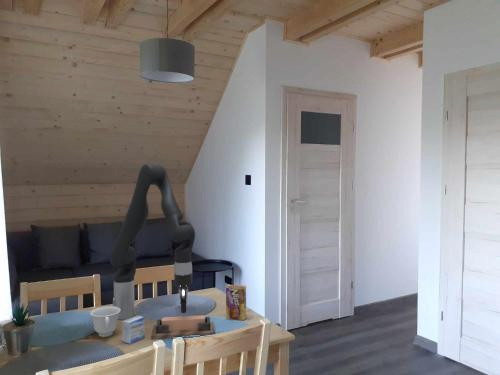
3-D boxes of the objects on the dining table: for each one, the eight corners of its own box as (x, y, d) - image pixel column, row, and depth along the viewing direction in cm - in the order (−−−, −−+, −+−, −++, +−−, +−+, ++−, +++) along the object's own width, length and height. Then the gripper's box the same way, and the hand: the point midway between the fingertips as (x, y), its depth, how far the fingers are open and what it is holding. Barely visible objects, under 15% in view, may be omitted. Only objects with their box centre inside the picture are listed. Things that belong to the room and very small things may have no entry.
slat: (161, 331, 172) (161, 320, 171) (162, 327, 176) (162, 317, 175) (205, 329, 174) (204, 318, 174) (204, 325, 178) (204, 315, 178)
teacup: (91, 345, 162) (91, 320, 161) (90, 331, 176) (89, 308, 175) (123, 339, 167) (122, 315, 166) (119, 327, 180) (119, 304, 180)
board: (151, 339, 167) (151, 328, 167) (153, 328, 179) (153, 318, 179) (215, 335, 171) (214, 325, 170) (213, 325, 183) (213, 315, 182)
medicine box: (130, 344, 162) (129, 323, 162) (122, 342, 165) (122, 320, 164) (144, 337, 169) (144, 316, 169) (137, 335, 171) (137, 314, 171)
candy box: (246, 317, 192) (246, 285, 192) (244, 320, 188) (244, 287, 187) (228, 315, 194) (228, 284, 193) (225, 319, 190) (225, 286, 189)
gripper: (174, 268, 180) (175, 307, 180) (173, 276, 167) (174, 318, 167) (192, 268, 181) (192, 306, 181) (192, 275, 168) (192, 317, 168)
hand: (183, 312), depth 174 cm, fingers closed
